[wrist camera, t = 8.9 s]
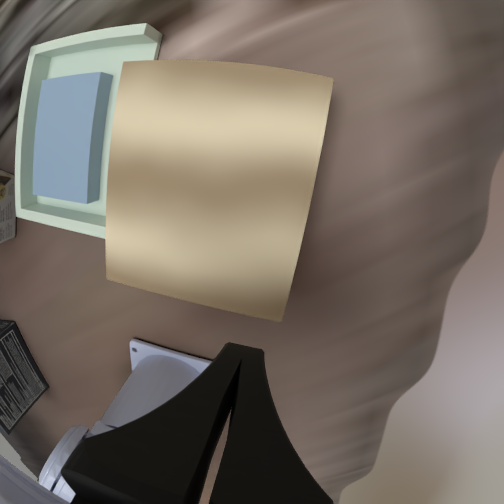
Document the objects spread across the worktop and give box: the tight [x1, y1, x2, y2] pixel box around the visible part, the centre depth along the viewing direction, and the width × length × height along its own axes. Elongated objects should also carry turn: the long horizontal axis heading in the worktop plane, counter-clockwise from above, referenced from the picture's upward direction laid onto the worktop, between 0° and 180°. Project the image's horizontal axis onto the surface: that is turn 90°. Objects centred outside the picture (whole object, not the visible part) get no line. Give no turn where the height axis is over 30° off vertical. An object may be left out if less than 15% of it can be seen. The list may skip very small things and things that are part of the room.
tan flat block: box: [106, 60, 334, 322], centre depth 17 cm, size 13×11×4 cm
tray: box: [15, 23, 163, 239], centre depth 17 cm, size 14×11×2 cm
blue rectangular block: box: [33, 72, 113, 204], centre depth 17 cm, size 9×6×2 cm, turn 170°
